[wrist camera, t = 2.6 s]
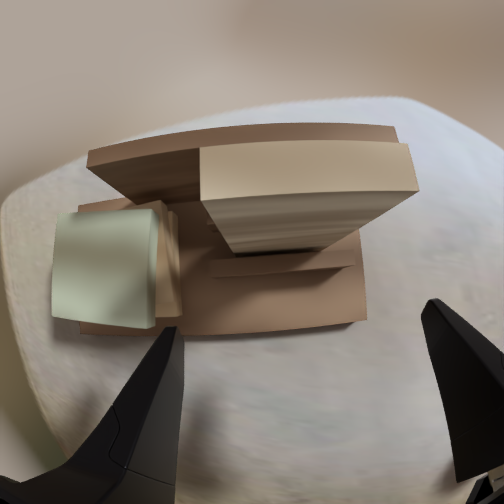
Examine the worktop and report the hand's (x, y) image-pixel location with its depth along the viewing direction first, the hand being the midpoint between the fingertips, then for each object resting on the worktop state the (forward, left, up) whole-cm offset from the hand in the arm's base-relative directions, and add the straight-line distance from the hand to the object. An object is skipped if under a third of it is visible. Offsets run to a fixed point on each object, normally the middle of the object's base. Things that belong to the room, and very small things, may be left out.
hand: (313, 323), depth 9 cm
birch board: (+4, -2, -10) cm, 11 cm away
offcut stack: (+9, +7, -10) cm, 15 cm away
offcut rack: (+6, +2, -12) cm, 13 cm away
